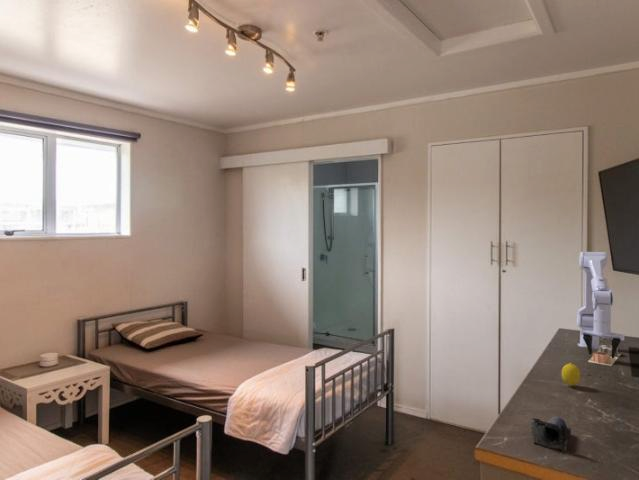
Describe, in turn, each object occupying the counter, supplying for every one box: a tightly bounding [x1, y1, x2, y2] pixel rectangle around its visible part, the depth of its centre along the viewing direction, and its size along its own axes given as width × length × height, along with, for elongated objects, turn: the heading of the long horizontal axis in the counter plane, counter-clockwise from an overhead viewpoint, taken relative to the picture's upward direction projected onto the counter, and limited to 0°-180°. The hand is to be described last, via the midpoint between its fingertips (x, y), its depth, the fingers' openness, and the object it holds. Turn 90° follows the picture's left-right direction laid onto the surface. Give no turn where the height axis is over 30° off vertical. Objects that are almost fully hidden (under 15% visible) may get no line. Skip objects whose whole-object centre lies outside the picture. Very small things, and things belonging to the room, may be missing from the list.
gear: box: [592, 351, 610, 363], centre depth 179 cm, size 6×6×3 cm
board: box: [587, 344, 621, 367], centre depth 184 cm, size 21×8×5 cm, turn 139°
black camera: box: [530, 416, 573, 452], centre depth 117 cm, size 9×8×12 cm
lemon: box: [561, 362, 581, 387], centre depth 155 cm, size 6×6×8 cm
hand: (601, 355), depth 179 cm, fingers open, 7 cm apart
